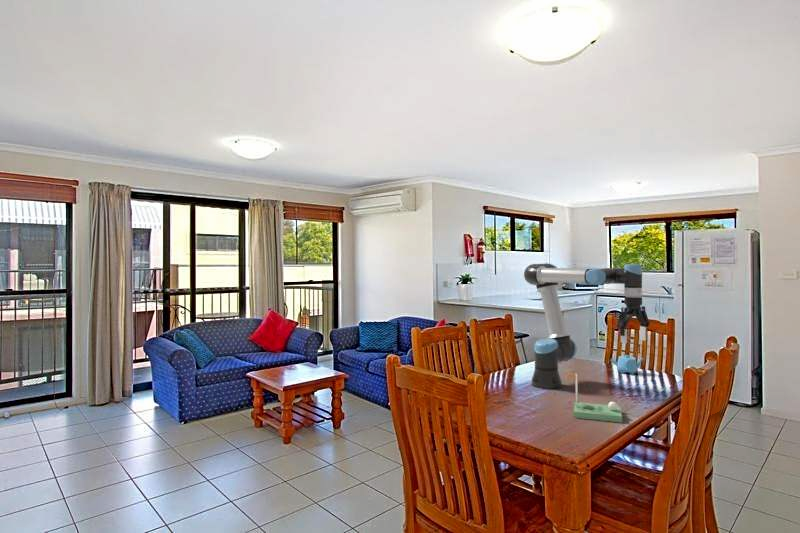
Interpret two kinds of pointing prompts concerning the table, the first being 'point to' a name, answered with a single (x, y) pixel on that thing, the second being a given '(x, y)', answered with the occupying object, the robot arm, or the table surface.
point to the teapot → (627, 364)
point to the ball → (612, 406)
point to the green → (594, 409)
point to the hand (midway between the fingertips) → (633, 341)
